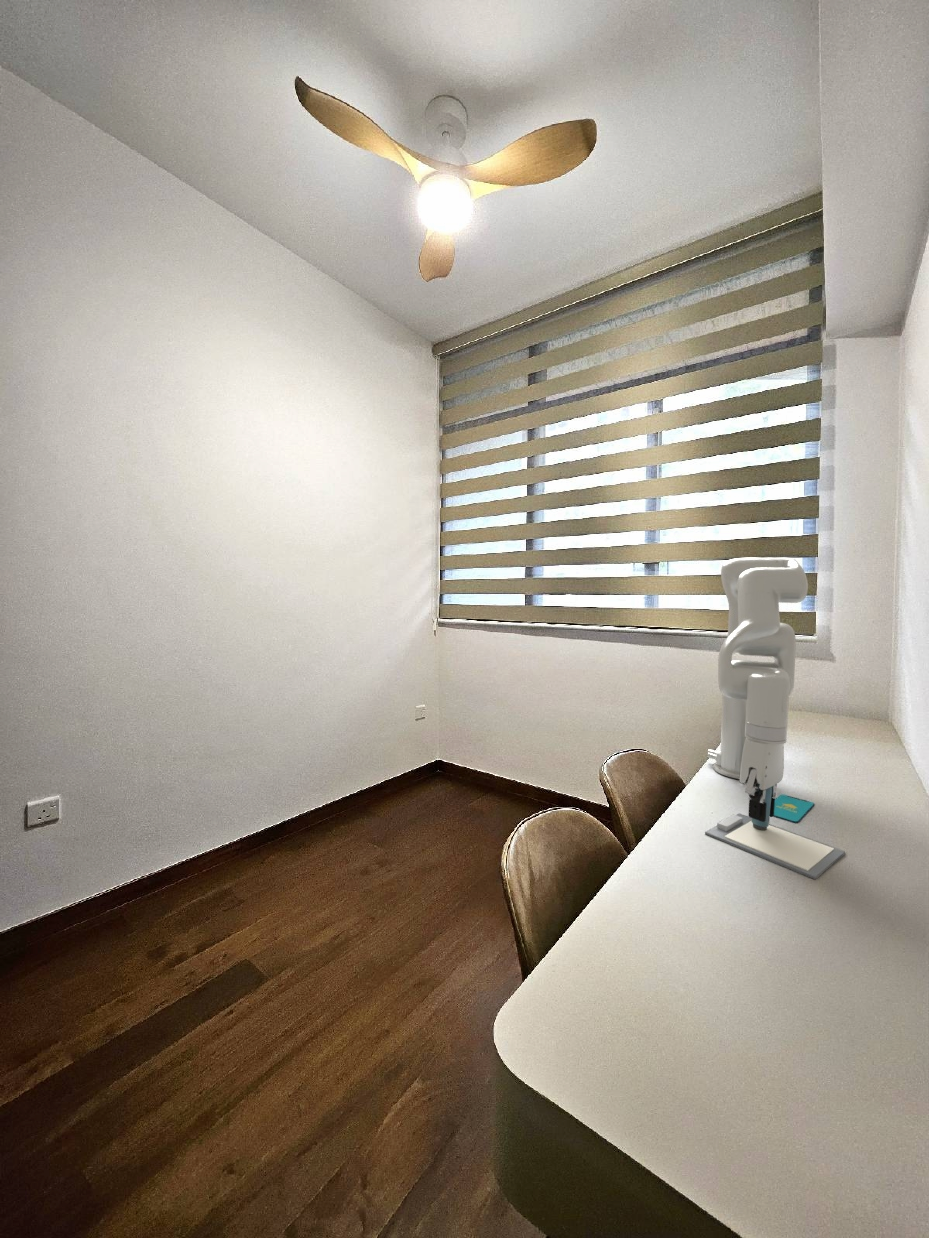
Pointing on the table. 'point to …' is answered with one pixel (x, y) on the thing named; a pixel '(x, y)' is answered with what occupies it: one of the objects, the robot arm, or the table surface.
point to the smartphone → (791, 808)
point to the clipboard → (777, 845)
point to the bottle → (764, 825)
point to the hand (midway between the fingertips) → (761, 815)
